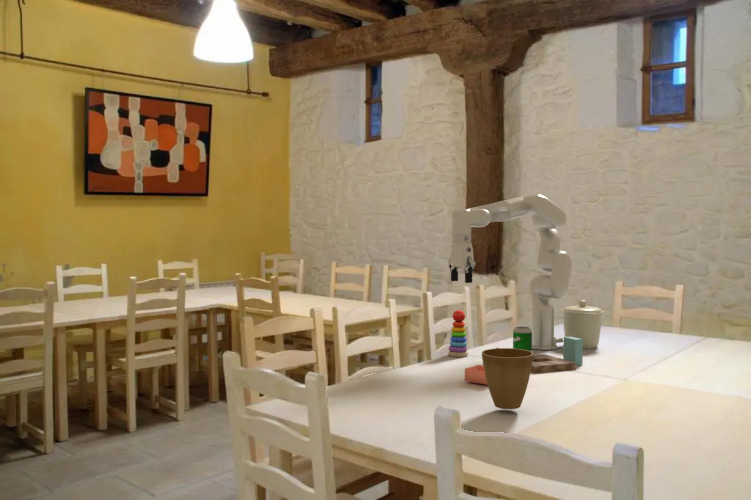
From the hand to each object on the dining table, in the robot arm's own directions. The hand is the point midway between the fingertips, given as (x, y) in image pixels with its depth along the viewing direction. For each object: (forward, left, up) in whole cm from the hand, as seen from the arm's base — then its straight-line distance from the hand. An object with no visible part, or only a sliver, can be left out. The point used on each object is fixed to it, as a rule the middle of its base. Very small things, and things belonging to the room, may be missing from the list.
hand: (461, 281), depth 278 cm
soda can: (-23, +10, -31) cm, 40 cm away
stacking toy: (0, -2, -31) cm, 31 cm away
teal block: (-33, +29, -31) cm, 53 cm away
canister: (-60, +2, -31) cm, 68 cm away
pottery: (+11, +38, -31) cm, 50 cm away
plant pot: (+27, +73, -31) cm, 83 cm away
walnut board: (-18, +29, -31) cm, 46 cm away
